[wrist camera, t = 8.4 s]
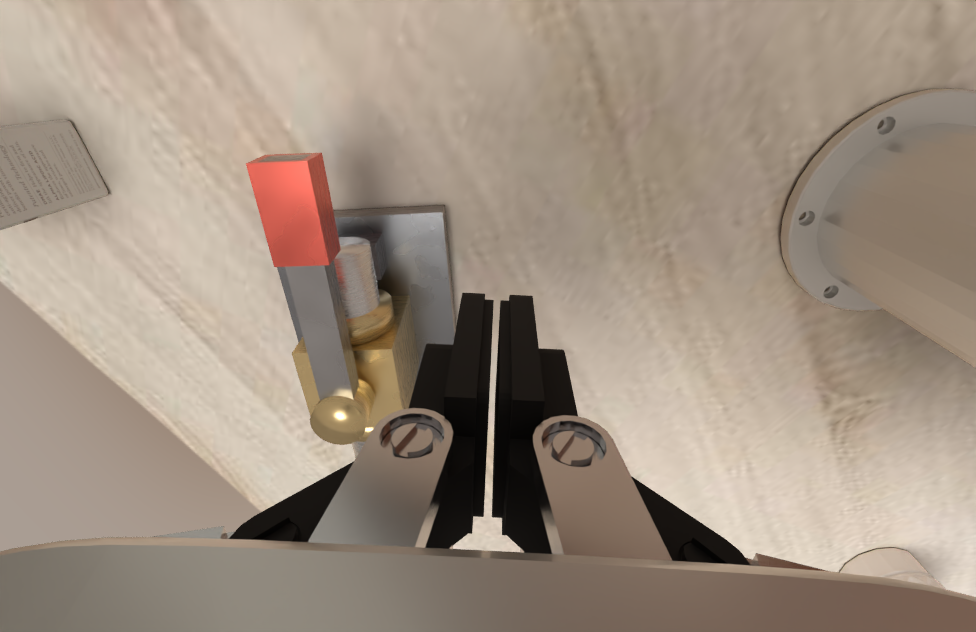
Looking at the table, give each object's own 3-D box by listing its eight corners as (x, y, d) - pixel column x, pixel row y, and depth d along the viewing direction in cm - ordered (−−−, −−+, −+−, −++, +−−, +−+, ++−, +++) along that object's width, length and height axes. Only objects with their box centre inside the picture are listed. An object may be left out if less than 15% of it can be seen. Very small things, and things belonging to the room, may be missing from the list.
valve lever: (378, 415, 25) (369, 443, 23) (329, 416, 25) (316, 445, 23) (327, 151, 18) (310, 162, 17) (261, 154, 18) (237, 165, 17)
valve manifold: (444, 204, 27) (431, 251, 21) (463, 406, 35) (458, 488, 28) (274, 213, 28) (208, 262, 21) (329, 412, 35) (292, 494, 28)
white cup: (935, 568, 44) (1046, 695, 35) (854, 604, 47) (939, 729, 38) (897, 530, 42) (1007, 657, 33) (814, 570, 44) (896, 697, 36)
